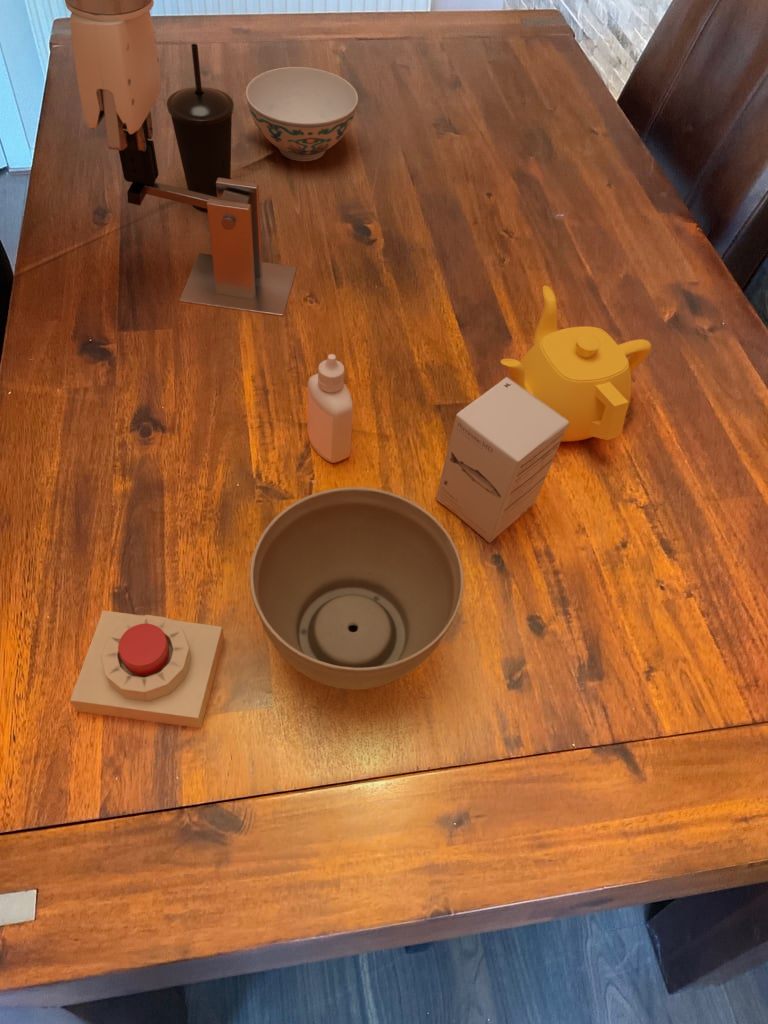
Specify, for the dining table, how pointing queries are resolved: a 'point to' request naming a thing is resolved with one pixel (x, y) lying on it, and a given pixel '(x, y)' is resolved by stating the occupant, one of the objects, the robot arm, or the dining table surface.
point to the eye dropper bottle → (329, 411)
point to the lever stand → (238, 259)
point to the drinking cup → (202, 133)
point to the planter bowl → (355, 585)
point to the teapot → (579, 374)
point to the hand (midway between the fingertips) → (141, 178)
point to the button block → (158, 695)
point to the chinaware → (301, 109)
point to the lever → (179, 195)
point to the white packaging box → (499, 457)
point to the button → (144, 649)
